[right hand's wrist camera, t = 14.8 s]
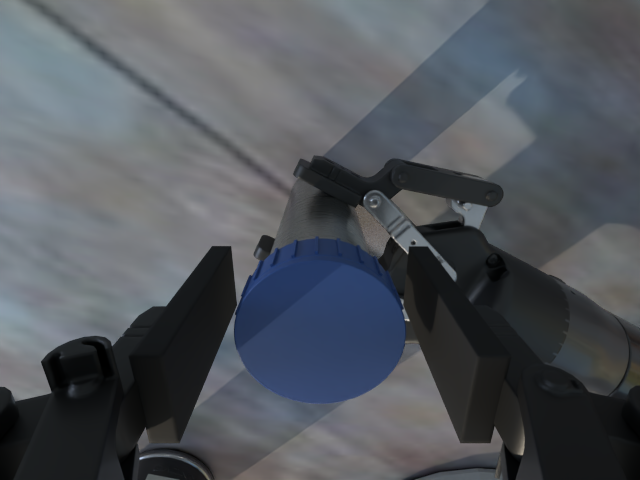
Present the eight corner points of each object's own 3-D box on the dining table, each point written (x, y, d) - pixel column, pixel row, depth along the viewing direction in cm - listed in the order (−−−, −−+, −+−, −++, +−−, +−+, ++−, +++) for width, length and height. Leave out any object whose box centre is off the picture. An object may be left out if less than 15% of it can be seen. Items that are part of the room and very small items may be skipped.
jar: (360, 185, 26) (417, 298, 11) (333, 237, 27) (350, 399, 12) (305, 159, 25) (283, 240, 10) (280, 213, 26) (229, 354, 11)
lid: (245, 228, 11) (231, 250, 9) (409, 242, 11) (424, 267, 10) (242, 361, 13) (231, 399, 11) (383, 372, 13) (392, 411, 12)
